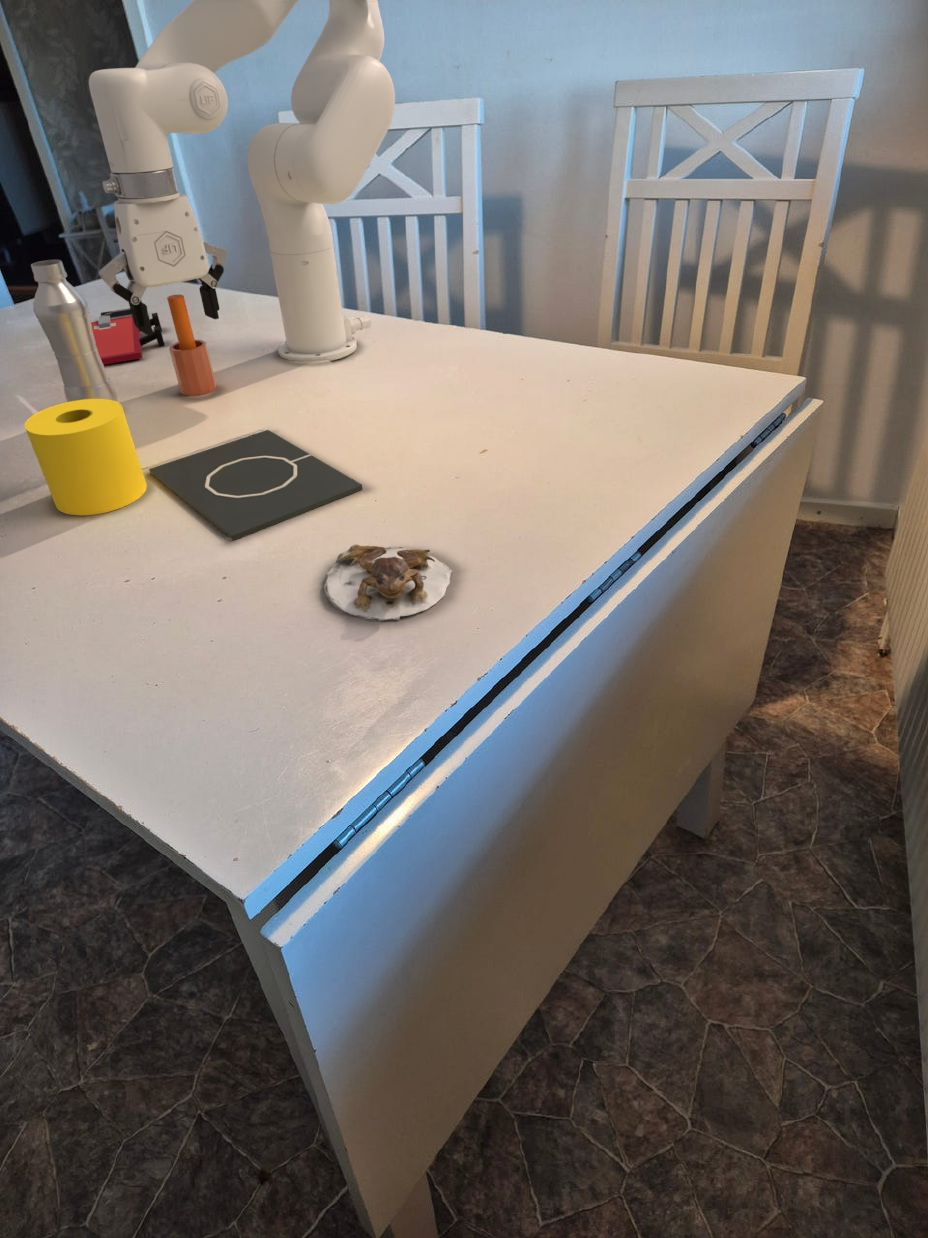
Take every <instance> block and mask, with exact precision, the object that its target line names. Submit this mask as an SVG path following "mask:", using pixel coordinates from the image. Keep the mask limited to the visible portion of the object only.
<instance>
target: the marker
mask: <svg viewBox="0 0 928 1238" xmlns="http://www.w3.org/2000/svg"><path fill="white" fill-rule="evenodd" d="M166 299H167V303H168V306H169V310H170V315H171V319H172V322H173V326H174V329H175V334H176V338H177V342H179V346H180V350H188V349H193V348H196V344H195V340H196V339H195V336H194V333H193V328H192V324H191V320H190V316H189V311H188V308H187V303H186V299H185V295H184V294H172V295H169V296H167V297H166Z"/></svg>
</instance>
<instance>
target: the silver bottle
mask: <svg viewBox="0 0 928 1238" xmlns="http://www.w3.org/2000/svg"><path fill="white" fill-rule="evenodd" d="M30 267H31V271H32V273H33V278H34V281H35V282H37V284H38V287H37V289H36V291H35V295H34V299H33V301H32V302H33V303H32V305H33V312H34V314H35V316H36V319H37V320H38V323H39V325H40V326H41V329H42V331H43V333H44V335H45V336H46V338H47V340H48V342H49V344H50V347H51V350H52V352H53V353H54V354H53V355H54V357H55V359H56V363H57V366H58V369H59V372H60V376H61V377H60V378H61V380H62V385H63V392H64V397H65V401H66V402H71V401H76V400H84V399H108V400H113V401H116V402H118V403H119V398H118V392H117V390H116V387H115V386H114V384H113V382H112V380H111V378H110V377H109V375H108V373H107V370H106V367H105V365H103V363H102V360H101V358H100V356H99V353H98V349H97V346H96V342H95V338H94V335H93V331H92V325H91V322H92V321H91V315H90V310H89V305H88V302H87V300H86V299H85V297H84V295H83V294H81V292H80V291H79V290H78V289H76V287H74V286H73V285H72V284H71V283H70V282H69V281H67V279H66V278H67V277H68V274H67V271H66V269H65V267H64V264H63V261H62V260H61V259H47V260H41V261H36V262H33V263H31V264H30ZM66 402H65V403H66Z"/></svg>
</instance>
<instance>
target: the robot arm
mask: <svg viewBox="0 0 928 1238" xmlns="http://www.w3.org/2000/svg"><path fill="white" fill-rule="evenodd" d="M298 2H299V0H192V1H191V2H190V3H189V4H188V5H187V6H186V7H185V8H183V10H182V11H180V12H179V13H178V14H177V15H176V16H174V17H173V19H172V20H170V22H169V23H167V25H166V26H164V28H163V29H162V30H161V31H160V33H158V34H157V36H156V37H155V38H154V40H153V41H152V43H150V45H149V46H148V48H147V49H146V51H145V52H144V54H143V55H142V56H141V57H140V59H139V61H138V62H137V64H136V65H135V67H120V68H117V67H116V68H106V69H105V68H104V69H99V70H95V71H93V72H92V73H91V74H90V75H89V77H88V88H89V92H90V97H91V100H92V104H93V107H94V112H95V116H96V120H97V123H98V127H99V131H100V135H101V138H102V142H103V146H104V151H105V153H106V157H107V161H108V165H109V170H110V172H109V176H110V178H108V180H103V181H102V187H103V190H104V192H105V194H114V195H115V197H117V200H115V201H114V202H113V207H114V208H113V209H114V220H115V221H114V222H115V228H116V235H117V236H116V237H117V243H118V247H119V253H118V254H117V255H116V256H115V257H113V258H112V259H111V260H110V261H109V262H108V263H107V264H106V265H104V266H103V267H102V268H101V269H100V270H99V271H98V275H99V277H100V278H101V279H102V281H103V282H104V283H105V284H106V286H108V288H109V289H110V290H111V292H112V293H114V294H115V295H116V296H118V297H120V298H122V299H123V300H124V301H126V302H127V303H128V305H129V308H130V309H131V313H132V317H133V320H134V324H135V326H136V327H137V328H138V329H140V331H141V332H142V333H143V334H145V335H150V334H152V333H153V332H154V330H153V328H152V327H153V326H151V323H150V319H151V318H150V317H149V313H148V312H147V311H148V307H147V308H146V306H147V305H146V304H145V303H144V302H142V299H143V296H144V294H145V292H146V289H147V288H157V287H163V286H168V285H172V284H178V283H182V282H188V281H192V280H197V281H199V282H200V284H201V285H200V286H199V288H198V289H199V295H200V298H201V302H202V307H203V313H204V315H205V316H206V317H208V318H210V319H213V320H219V318H220V316H219V315H220V314H219V311H220V303H219V299H218V293H217V290H216V289H217V288H218V286H219V281H220V279H221V278H222V276H223V274H224V272H225V268H224V267H225V266H226V265H225V264H226V260H227V256H228V252H227V250H226V249H224V248H221V247H218V246H216V245H213V244H211V243H208V242H205V241H203V237H202V233H201V230H200V226H199V224H198V222H197V219H196V216H195V213H194V210H193V208H192V205H191V203H190V200H189V198H188V196H187V194H185V193H180V189H179V185H178V180H177V176H176V172H175V168H174V164H173V163H174V162H173V158H172V154H171V149H170V143H169V140H168V135H169V134H183V135H205V134H208V133H211V132H212V131H215V130H216V129H217V128H219V127H220V125H221V124H222V123H223V122H224V120H225V119H226V116H227V113H228V107H229V101H228V95H227V91H226V89H225V86H224V85H223V82H222V81H221V79H220V78H219V77H218V76H217V75H216V74H215V73H217V72H218V71H219V70H220V69H222V68H223V67H225V66H227V65H228V64H231V63H232V62H234V61H236V60H238V59H242V58H244V57H246V56H249V55H250V54H252V53H254V52H256V51H257V50H259V49H261V48H262V47H264V46H265V45H266V44H268V43H270V41H271V40H273V38H274V37H275V36H276V34H277V33H278V31H279V29H280V28H281V27H282V25H283V24H284V22H285V20H286V19H287V17H288V16H289V15H290V13H291V11H292V10H293V9H294V8H295V6H296V5H297V3H298ZM328 4H329V5H328V8H329V9H328V16H327V20H326V22H325V24H324V26H323V29H322V31H321V33H320V35H319V36H318V39H317V40H316V41H315V44H314V46H313V47H312V49H311V50H310V53H309V55H308V56H307V58H306V60H305V62H304V63H303V64H302V66H301V69H300V71H299V72H298V74H297V76H296V78H295V80H294V82H293V85H292V89H291V95H290V100H291V101H290V104H291V110H292V112H293V116H294V117H295V119H296V120H297V121H298V122H299V123H297V122H277V123H271V124H268V125H266V126H263V127H261V128H260V129H259V130H258V131H257V132H256V133H255V134H253V136H252V138H251V140H250V142H249V145H248V149H247V159H246V160H247V169H248V173H249V178H250V182H251V184H252V186H253V190H254V193H255V195H256V198H257V201H258V204H259V207H260V210H261V214H262V218H263V222H264V226H265V231H266V237H267V242H268V247H269V253H270V254H269V255H270V259H271V264H272V270H273V276H274V282H275V288H276V292H277V298H278V303H279V309H280V313H281V319H282V325H283V332H284V336H285V341H283V342H282V343H280V344H279V346H278V347H277V352H278V355H279V356H280V357H281V358H282V359H285V360H289V361H294V362H319V361H326V360H327V361H328V362H332V361H336V360H340V359H343V358H346V357H348V356H350V355H351V354H353V353H354V352H356V350H357V348H358V344H357V343H358V342H357V339H356V338H355V337H354V336H353V335H356V332H357V331H362V330H367V329H369V328H371V327H372V322H371V318H370V317H369V316H368V315H365V316H360V317H357V318H355V316H353V315H351V316H348V317H346V316H344V312H343V306H342V305H343V303H342V298H341V297H342V296H341V291H340V290H341V289H340V282H339V276H338V269H337V262H336V254H335V247H334V238H333V231H332V227H331V223H330V219H329V217H328V213H327V211H326V209H325V207H324V205H335V204H339V203H341V202H344V201H345V200H347V199H348V198H349V197H350V196H351V195H352V194H353V192H355V190H356V188H357V187H358V186H359V184H360V182H361V180H362V179H363V177H364V175H365V174H366V172H367V170H368V168H369V166H370V164H371V162H372V161H373V159H374V158H375V156H376V154H377V152H378V150H379V148H380V147H381V144H382V143H383V141H384V139H385V137H386V135H387V133H388V132H389V129H390V127H391V125H392V122H393V117H394V114H395V106H396V92H395V87H394V83H393V79H392V76H391V74H390V73H389V71H388V69H387V68H386V67H385V65H384V64H383V63H382V62H381V61H380V60H381V59H382V55H383V52H384V48H385V30H384V25H383V21H382V16H381V12H380V7H379V6H380V5H379V2H378V0H328ZM207 254H208V255H210V256H211V257H212V264H211V265H209V259H208V256H207ZM123 269H124V272H125V275H126V277H127V279H128V280H129V281H128V284H127V286H126V287H125V286H123V285H122V284H121V283H120V282H119V281H118V279H117V275H118V274H119V273H120V272H121V271H122V270H123ZM141 332H140V333H141Z"/></svg>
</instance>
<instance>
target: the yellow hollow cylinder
mask: <svg viewBox="0 0 928 1238" xmlns="http://www.w3.org/2000/svg"><path fill="white" fill-rule="evenodd" d="M24 429H25V431H26V434H27V436H28V439H29V441H30V444H31V447H32V450H33V453H34V454H35V457H36V460H37V462H38V465H39V467H40V469H41V472H42V474H43V478H44V479H45V482H46V485H47V487H48V490H49V492H50V495H51V497H52V500H53V503H54V505H55V507H56V509H57V510H58V511H59V512H61V513H63V514H66V515H69V516H70V515H71V516H94V515H100V514H101V515H102V514H106V513H109V512H113V511H116V510H119V509H122V508H124V507H126V506H129V505H130V504H132V503H134V502H136V501H137V500H138V499H140V498H141V497H142V496H143V495H144V494H145V493H146V491H147V487H148V485H147V481H146V478H145V475H144V471H143V468H142V465H141V462H140V459H139V455H138V453H137V450H136V447H135V443H134V439H133V437H132V433H131V430H130V427H129V423H128V421H127V417H126V414H125V411H124V408H123V405H122V404H121V403H120V402H119V401H118V402H116V401H113V400H108V399H84V400H76V401H71V402H62V403H59V404H55V405H52V406H49V407H46V408H44V409H42V410H40V411H38V412H36V413H34V414H33V415H31V416H29V418H28V419H26V420H25V423H24Z"/></svg>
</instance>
